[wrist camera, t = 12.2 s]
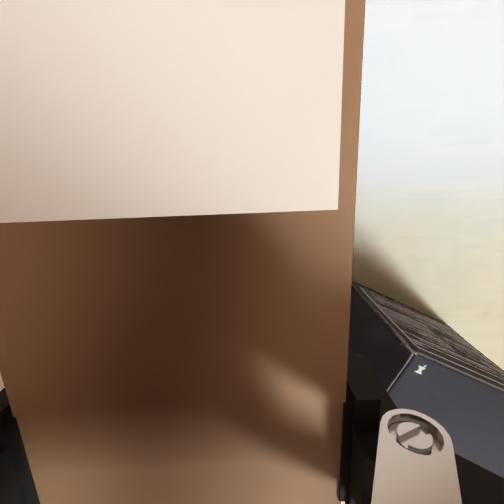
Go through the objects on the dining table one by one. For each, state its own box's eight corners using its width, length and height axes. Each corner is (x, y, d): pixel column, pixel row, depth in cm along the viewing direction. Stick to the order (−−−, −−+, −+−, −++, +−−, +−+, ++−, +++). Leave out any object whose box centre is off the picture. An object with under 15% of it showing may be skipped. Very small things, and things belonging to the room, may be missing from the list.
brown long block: (305, -3, 9) (375, -212, 4) (301, 545, 14) (329, 732, 10) (62, 5, 9) (-162, -198, 4) (153, 552, 14) (106, 744, 10)
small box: (310, 340, 27) (350, 440, 17) (347, 276, 26) (414, 345, 16) (410, 382, 28) (502, 498, 18) (450, 324, 27) (574, 416, 17)
